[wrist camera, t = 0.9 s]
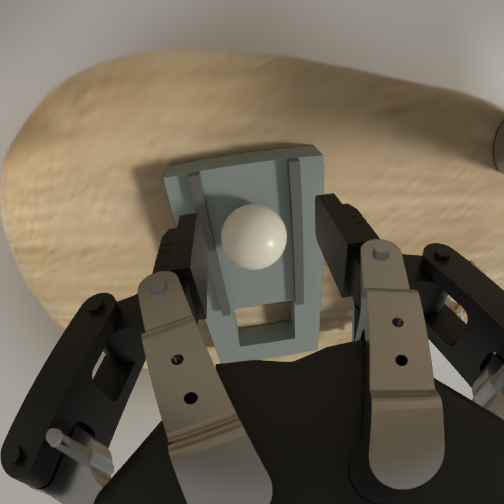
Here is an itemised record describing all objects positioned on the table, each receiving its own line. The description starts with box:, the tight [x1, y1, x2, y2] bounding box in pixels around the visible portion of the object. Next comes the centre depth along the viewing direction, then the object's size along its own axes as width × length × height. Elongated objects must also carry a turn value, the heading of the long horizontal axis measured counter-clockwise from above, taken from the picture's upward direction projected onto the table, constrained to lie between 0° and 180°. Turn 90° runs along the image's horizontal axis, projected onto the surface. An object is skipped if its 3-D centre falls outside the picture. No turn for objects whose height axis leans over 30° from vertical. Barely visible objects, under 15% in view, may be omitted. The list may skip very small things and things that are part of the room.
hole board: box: [163, 145, 324, 364], centre depth 36 cm, size 15×30×4 cm, turn 7°
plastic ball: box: [221, 204, 287, 270], centre depth 28 cm, size 6×6×6 cm
